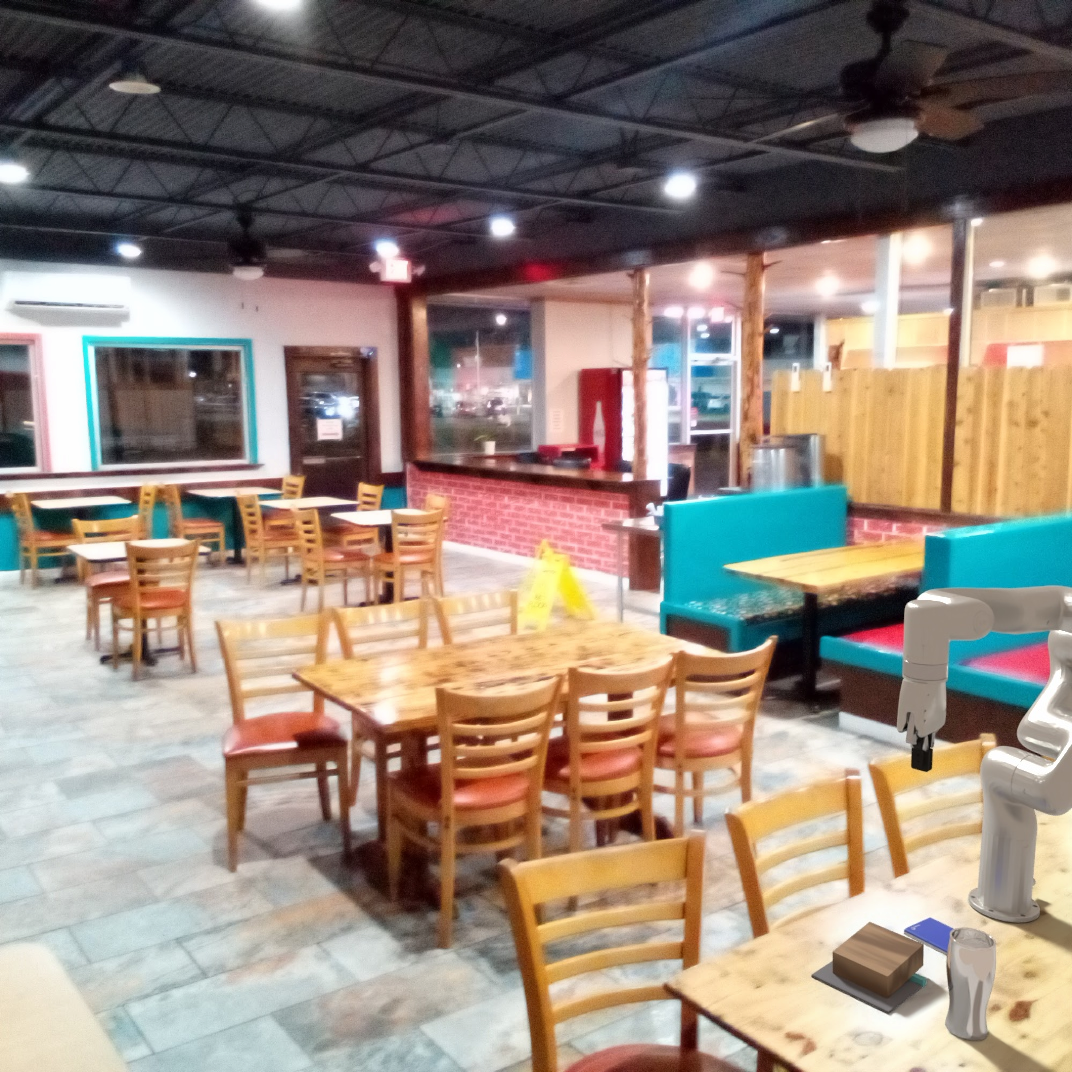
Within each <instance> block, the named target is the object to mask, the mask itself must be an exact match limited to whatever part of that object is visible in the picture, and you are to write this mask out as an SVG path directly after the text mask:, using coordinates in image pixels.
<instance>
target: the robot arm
mask: <svg viewBox="0 0 1072 1072" xmlns="http://www.w3.org/2000/svg"><path fill="white" fill-rule="evenodd" d="M903 618H904V619H903V644H902V645H903V647H902V648H903V650H902V678H903V679H902V681H901V682H902V683H901V687H900V691H899V699H898V707H897V718H896V719H897V720H896V731H897V732H898V733H905V732H906V734H905V735H906V736H905V744H908V745H909V744H910V748H911V753H910V754H911V756H910V758H911V759H910V767H911V769H913V770H917V771H921V772H923V773H924V772H925V773H928V772H930V771H932V770H933V759H934V758H933V757H934V754H933V753H934V747H935V746H934V745H935V741H936V734H937V733H938V732H939V730H940V729H941V728H943V726H944V725H945V723H946V719H947V717H946V716H947V688H946V687H947V686H946V685H947V683H946V682H948V680H949V679H948V677H949V658H950V657H949V655H950V652H949V651H950V642H952V641H977V640H981V639H982V638H984V637H986V636H987V635H988V634H989V633H990V632H994V633H999V634H1007V635H1008V634H1010V635H1021V634H1022V635H1023V634H1032V633H1033V634H1034V633H1042V632H1049V633H1048V637H1047V648H1048V657H1049V677H1048V681H1047V683H1046V685H1044V688H1043V689H1042V691H1041V692H1040V693H1039V694H1038V696H1037V697H1036V699H1035V701H1034V702H1033V704H1032V705H1031V707H1030V708H1028V711H1027V712H1026V713H1025V715H1024V716H1023V717H1022V719H1021V721H1020V722H1019V724H1018V727H1017V730H1016V736H1017V740H1018V741H1019V743H1020V744H1021V745H1022V746H1023V747H1025V748H1026V749H1027V750H1028V751H1029V750H1030V751H1032V752H1033V753H1031V752H1028V751H1026V750H1024V749H1020V748H1017V747H1013V746H1008V745H999V746H995V747H993V748H991V749H989V750H988V751H987V752H986V753H985V754H984V756H983V757H982V760H981V762H980V768H979V771H980V772H979V773H980V774H979V775H980V782H981V788H982V797H983V798H982V801H983V802H982V803H983V809H982V810H983V811H982V825H981V836H980V837H981V838H980V851H979V863H978V864H979V865H978V879H977V880H978V881H977V882H978V883H977V887H975V888H973V889H972V890H971V889H970V891H969V893H968V897H967V898H968V899H967V900H968V903H969V905H970V906H971V907H972V908H973V909H974V910H976V911H977V912H979V913H980V914H982V915H984V916H986V917H989V918H992V919H995V920H999V921H1003V922H1009V923H1029V922H1033V921H1035V920H1036V919H1038V918H1039V917H1040V914H1041V912H1040V911H1041V908H1040V906H1039V903H1037V901H1036V900H1035V899H1033V889H1034V888H1033V887H1035V885H1036V884H1037V883H1036V882H1037V881H1036V879H1035V878H1034V875H1035V874H1034V872H1035V863H1036V862H1035V861H1036V848H1037V836H1038V820H1037V819H1038V818H1037V813H1036V812H1035V811H1038V812H1040V813H1043V814H1046V815H1047V816H1048V815H1049V816H1054V817H1057V816H1059V817H1060V816H1063V815H1065V814H1067V813H1068V812H1070V811H1071V810H1072V587H1070V586H1065V585H1064V586H1063V585H1044V586H1040V585H1039V586H1029V587H1028V586H1027V587H1016V588H1015V587H1013V588H1012V587H1011V588H1008V587H1004V588H1003V587H986V588H985V587H944V588H934V589H929V590H926V591H924V592H923V593H921V594H920V595H919V596H918V597H917V598H916V599H913V600H910V601H909V602H907V603H906V605H905V608H904V617H903ZM1035 753H1037V754H1038V755H1037V754H1035ZM1039 755H1041V756H1039ZM1042 756H1043V757H1042ZM1044 757H1047V758H1044ZM1048 758H1049V759H1048ZM1050 759H1052V760H1050ZM1053 760H1054V761H1053Z"/></svg>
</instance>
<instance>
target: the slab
mask: <svg viewBox="0 0 1072 1072" xmlns="http://www.w3.org/2000/svg"><path fill="white" fill-rule="evenodd" d="M924 945H925V944H923V943H921V942H919V941H917V940H915V939H913V938H911V937H909V936H906V935H904V934H903V935H902V934H900V933H898V932H895V931H894V930H891V929H888V928H886V927H883V926H881V925H879V924H876V923H874V922H871V921H869V922H867V923H866V924H865V925H863V927H861V928H860V929H859V930H858V931H855V933H854V934H853V935H851V936H850V937H849V938H847V939H846V940H845V941H844V942H842V943H841V944H840V945H838V946H837V947H836V948H835V949H834V950H832V961H833V973H834V974H836V975H838V976H840V977H843V978H845V979H847V980H849V981H851V982H853V983H855V984H857V985H859V986H862V987H864V988H866V989H868V990H870V991H872V992H874V993H876V994H879V995H881V996H883V997H885V998H887V999H888V998H889V997H890V996H891V995H892V994H893V993H894V992H895V991H896V990H897V989H898V988H900V987H901V986H902V985H903V984H904V983H905V982H906V981H907V980H908V979H909V978H910V977H911V976H913V975H914V974H915V973H918V971H919V970H920V969H921V968H923V967H924V949H925V948H924V947H925V946H924Z"/></svg>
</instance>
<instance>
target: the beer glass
mask: <svg viewBox="0 0 1072 1072" xmlns="http://www.w3.org/2000/svg"><path fill="white" fill-rule="evenodd" d="M996 945H997V942H996V939H995V938H994V937H993V936H992V935H991V934H990V933H988V932H985V931H983V930H980V929H977V928H973V927H965V926H964V927H956V928H954V929H953V930H952V931H951V932H950V937H949V943H948V949H947V955H946V958H945V959H946V961H945V963H946V965H945V966H946V967H945V968H946V979H947V980H946V982H947V989H948V996H949V997H948V998H949V1003H948V1005H949V1006H948V1010H947V1014H946V1016H945V1017H946V1018H945V1022H944V1025H945V1029H947V1031H948V1032H949V1033H951V1034H952V1035H953V1036H956V1037H957V1038H959V1039H963V1040H966V1041H973V1042H977V1041H978V1042H979V1041H982V1040H984V1039H986V1038H987V1037H988V1033H989V1031H988V1023H987V1010H988V1004H989V1001H990V998H991V994H992V991H993V986H994V983H995V977H996V970H997V946H996Z"/></svg>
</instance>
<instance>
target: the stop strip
mask: <svg viewBox="0 0 1072 1072" xmlns="http://www.w3.org/2000/svg"><path fill="white" fill-rule="evenodd" d="M927 979H928V978H927V977H925V976H923V975H921V974H918V972H916V973H915V974H914V975H913V976H911V977H910V978H909V979H908V980H910V981H912V982H915V983H917V984H919V985H921V986H922V988H924V987H925V986H927Z"/></svg>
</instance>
